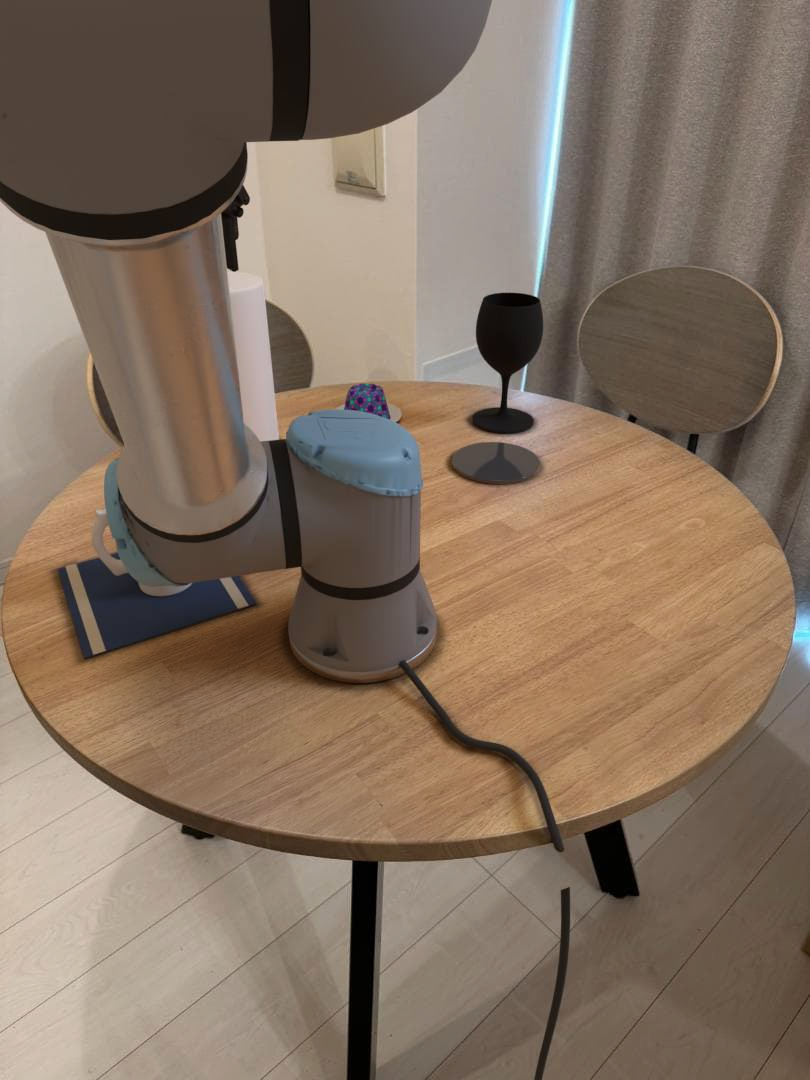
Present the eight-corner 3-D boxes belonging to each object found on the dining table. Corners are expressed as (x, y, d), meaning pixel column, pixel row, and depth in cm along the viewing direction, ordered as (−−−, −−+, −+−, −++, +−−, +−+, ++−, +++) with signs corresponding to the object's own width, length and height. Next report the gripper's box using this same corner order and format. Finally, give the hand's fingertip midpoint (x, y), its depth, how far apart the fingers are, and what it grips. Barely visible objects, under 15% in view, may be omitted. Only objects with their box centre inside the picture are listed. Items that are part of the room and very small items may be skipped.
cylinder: (211, 471, 108) (183, 297, 94) (189, 440, 117) (161, 277, 104) (291, 453, 113) (275, 285, 99) (264, 425, 122) (246, 267, 109)
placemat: (256, 604, 81) (256, 602, 81) (84, 659, 73) (83, 657, 73) (207, 530, 94) (207, 528, 94) (57, 570, 86) (57, 568, 86)
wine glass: (466, 430, 120) (472, 306, 109) (476, 407, 128) (482, 289, 118) (530, 437, 118) (543, 310, 107) (536, 412, 126) (548, 293, 116)
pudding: (392, 436, 118) (391, 405, 115) (321, 429, 121) (319, 398, 118) (409, 408, 128) (409, 379, 125) (343, 402, 130) (342, 373, 128)
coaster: (555, 476, 106) (556, 472, 106) (473, 490, 103) (473, 486, 102) (514, 440, 117) (515, 436, 116) (438, 452, 113) (438, 449, 113)
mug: (188, 558, 88) (170, 468, 82) (206, 586, 83) (189, 493, 77) (101, 584, 84) (75, 491, 77) (114, 615, 79) (88, 519, 72)
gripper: (223, 52, 80) (242, 241, 96) (12, 105, 66) (74, 314, 82) (272, 71, 77) (283, 262, 93) (62, 130, 64) (117, 342, 79)
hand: (185, 287), depth 88 cm, fingers open, 13 cm apart
